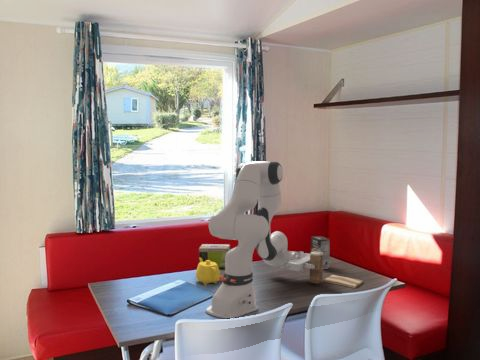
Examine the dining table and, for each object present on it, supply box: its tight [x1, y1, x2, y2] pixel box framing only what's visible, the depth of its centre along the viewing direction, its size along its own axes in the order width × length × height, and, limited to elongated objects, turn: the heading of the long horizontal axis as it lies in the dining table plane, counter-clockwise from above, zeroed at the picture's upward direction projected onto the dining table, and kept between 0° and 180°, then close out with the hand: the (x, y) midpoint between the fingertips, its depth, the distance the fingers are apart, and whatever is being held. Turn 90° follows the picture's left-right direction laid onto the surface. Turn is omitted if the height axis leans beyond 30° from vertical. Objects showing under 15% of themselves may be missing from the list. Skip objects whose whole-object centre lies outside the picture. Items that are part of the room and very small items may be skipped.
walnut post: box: [309, 251, 324, 284], centre depth 226 cm, size 4×4×14 cm
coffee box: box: [310, 235, 331, 270], centre depth 256 cm, size 9×6×16 cm
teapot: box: [195, 256, 220, 286], centre depth 231 cm, size 18×11×11 cm, turn 29°
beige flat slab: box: [323, 274, 364, 289], centre depth 231 cm, size 10×16×1 cm, turn 54°
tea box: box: [198, 243, 231, 276], centre depth 244 cm, size 15×10×15 cm, turn 84°
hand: (318, 265), depth 226 cm, fingers closed on walnut post, 4 cm apart
